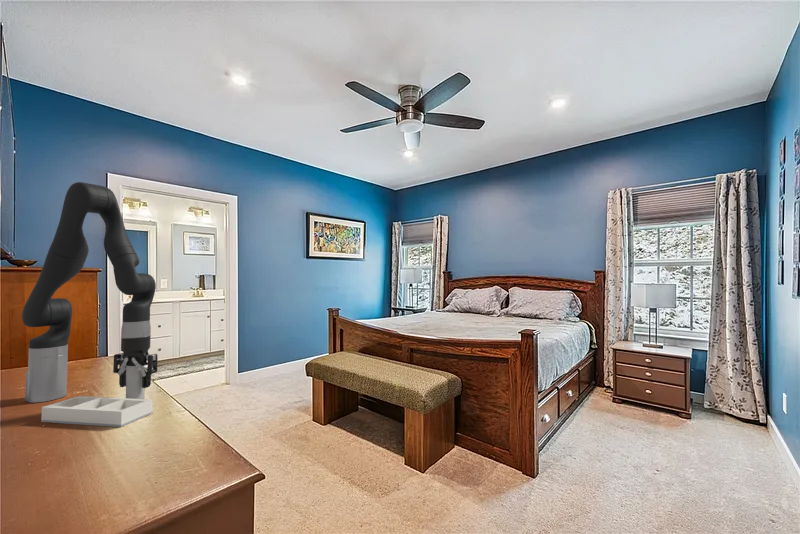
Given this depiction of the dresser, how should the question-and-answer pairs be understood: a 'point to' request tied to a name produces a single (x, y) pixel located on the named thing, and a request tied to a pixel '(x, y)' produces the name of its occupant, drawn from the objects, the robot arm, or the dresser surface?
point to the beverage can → (134, 383)
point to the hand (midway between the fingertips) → (134, 386)
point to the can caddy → (97, 411)
